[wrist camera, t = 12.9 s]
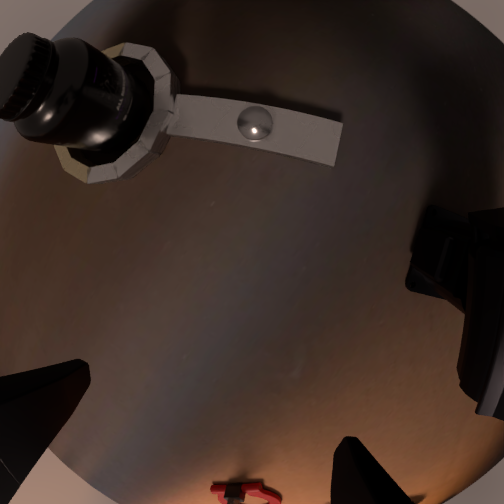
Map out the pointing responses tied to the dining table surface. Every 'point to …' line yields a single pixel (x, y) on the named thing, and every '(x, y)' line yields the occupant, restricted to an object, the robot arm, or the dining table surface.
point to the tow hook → (243, 493)
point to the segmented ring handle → (216, 125)
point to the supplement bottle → (70, 95)
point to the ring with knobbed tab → (74, 157)
